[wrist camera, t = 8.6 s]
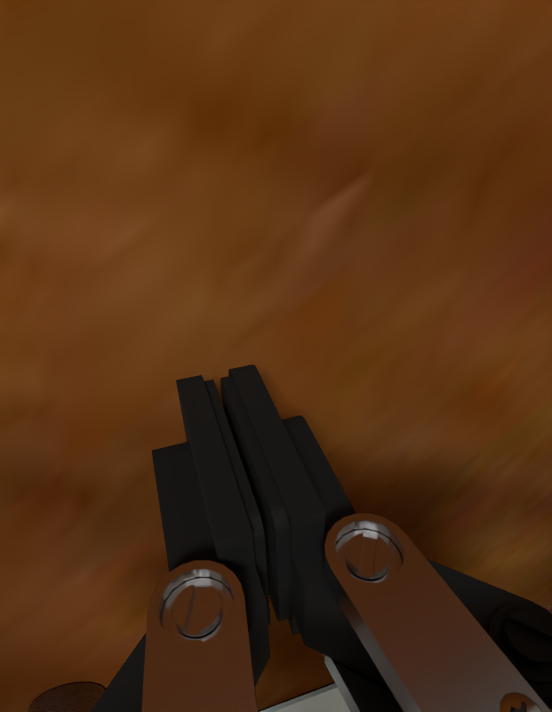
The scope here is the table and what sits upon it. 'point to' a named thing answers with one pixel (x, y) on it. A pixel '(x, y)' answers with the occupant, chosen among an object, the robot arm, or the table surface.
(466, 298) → the table surface
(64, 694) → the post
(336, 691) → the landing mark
